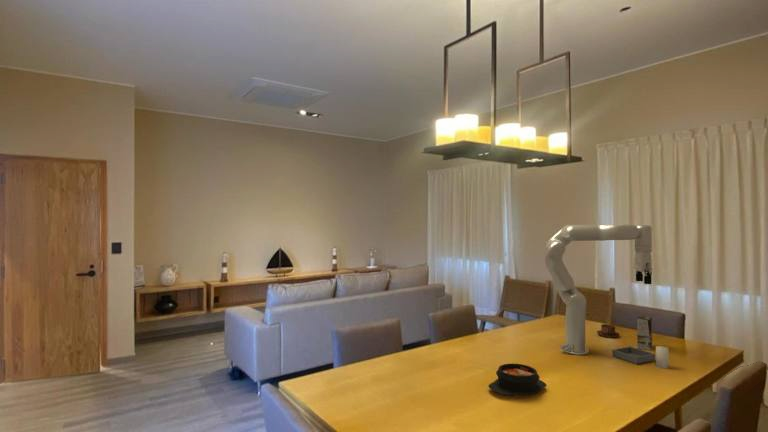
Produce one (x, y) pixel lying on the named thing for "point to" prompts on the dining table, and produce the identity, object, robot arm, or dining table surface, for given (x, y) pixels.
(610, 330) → the cup and saucer
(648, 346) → the coffee box
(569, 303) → the robot arm
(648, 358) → the bin
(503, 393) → the casserole
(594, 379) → the dining table surface
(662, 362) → the canister
